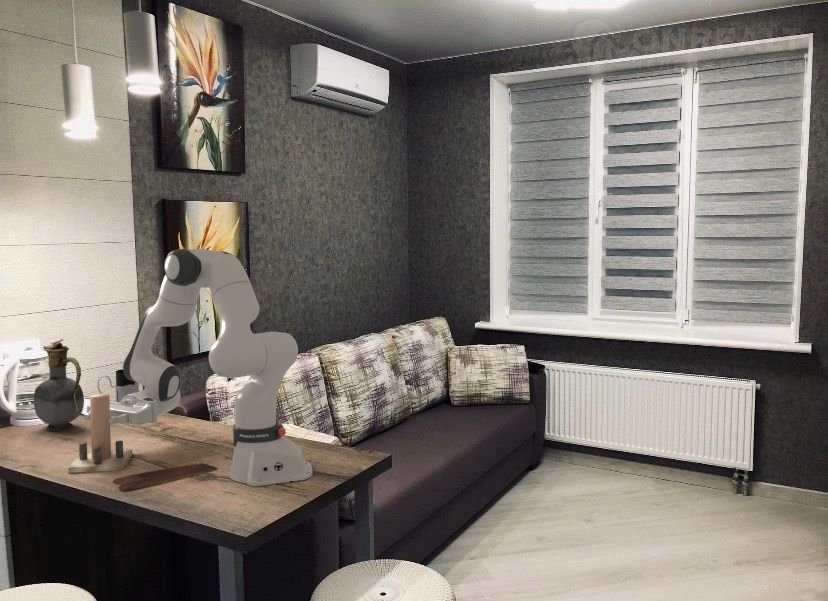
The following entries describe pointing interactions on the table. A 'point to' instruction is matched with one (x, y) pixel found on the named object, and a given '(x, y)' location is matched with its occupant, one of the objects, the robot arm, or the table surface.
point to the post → (100, 424)
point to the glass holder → (122, 385)
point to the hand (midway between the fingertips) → (97, 419)
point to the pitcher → (59, 391)
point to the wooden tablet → (161, 476)
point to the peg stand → (100, 459)
